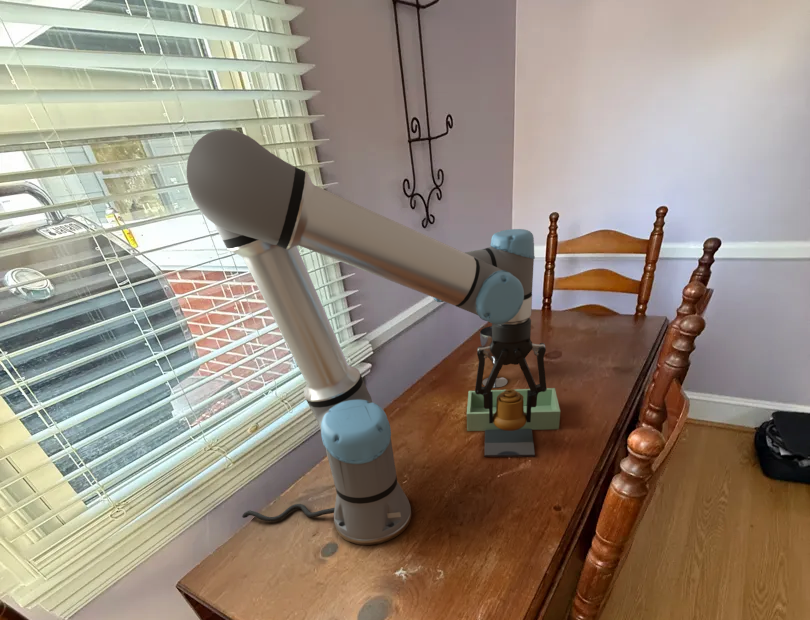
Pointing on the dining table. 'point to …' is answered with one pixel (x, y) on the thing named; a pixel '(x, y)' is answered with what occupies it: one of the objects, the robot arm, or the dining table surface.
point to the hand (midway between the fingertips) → (509, 419)
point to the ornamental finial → (509, 411)
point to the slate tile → (509, 443)
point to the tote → (541, 415)
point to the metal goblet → (490, 355)
